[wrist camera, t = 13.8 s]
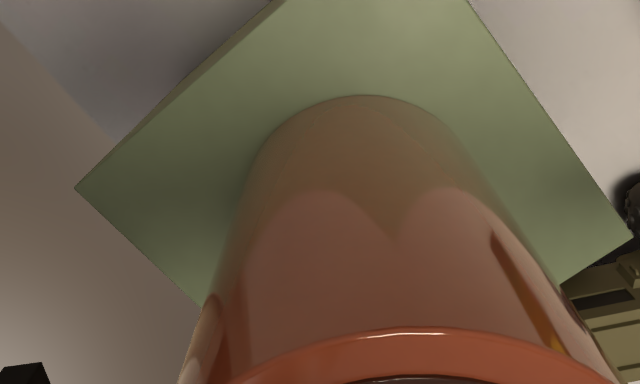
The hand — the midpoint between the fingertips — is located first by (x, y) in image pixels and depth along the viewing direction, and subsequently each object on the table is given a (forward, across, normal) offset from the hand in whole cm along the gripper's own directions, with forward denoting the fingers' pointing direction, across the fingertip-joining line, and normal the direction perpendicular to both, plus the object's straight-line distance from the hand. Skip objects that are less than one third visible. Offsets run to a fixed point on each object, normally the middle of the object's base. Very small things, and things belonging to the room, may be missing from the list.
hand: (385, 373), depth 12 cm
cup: (+7, 0, 0) cm, 7 cm away
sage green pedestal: (+22, 0, 0) cm, 22 cm away
